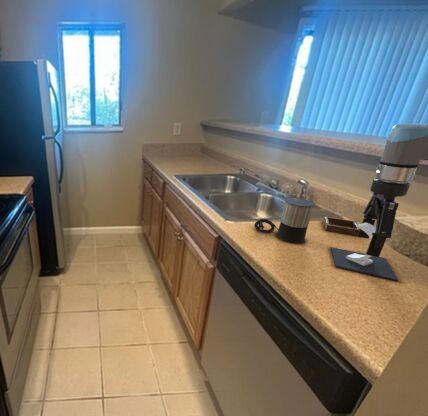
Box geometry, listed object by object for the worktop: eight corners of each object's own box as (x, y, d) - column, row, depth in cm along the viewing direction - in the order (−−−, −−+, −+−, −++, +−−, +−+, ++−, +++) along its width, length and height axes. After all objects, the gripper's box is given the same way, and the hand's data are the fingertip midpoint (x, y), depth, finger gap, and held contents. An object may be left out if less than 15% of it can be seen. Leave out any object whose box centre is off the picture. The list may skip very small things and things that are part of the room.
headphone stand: (354, 255, 91) (366, 222, 87) (376, 264, 86) (390, 230, 82) (345, 258, 90) (357, 224, 86) (367, 267, 85) (381, 232, 80)
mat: (384, 259, 90) (385, 257, 90) (397, 281, 79) (398, 279, 79) (330, 248, 97) (331, 247, 97) (335, 267, 86) (336, 265, 86)
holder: (354, 226, 113) (356, 221, 112) (358, 236, 105) (360, 230, 104) (323, 221, 118) (325, 216, 117) (325, 230, 110) (327, 224, 109)
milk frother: (310, 244, 100) (321, 206, 94) (263, 241, 102) (271, 204, 97) (291, 228, 113) (300, 193, 107) (250, 225, 115) (257, 192, 110)
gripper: (365, 169, 90) (345, 228, 97) (385, 189, 70) (359, 260, 78) (397, 172, 86) (374, 233, 93) (428, 193, 66) (395, 268, 74)
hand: (367, 246), depth 86 cm, fingers open, 13 cm apart
